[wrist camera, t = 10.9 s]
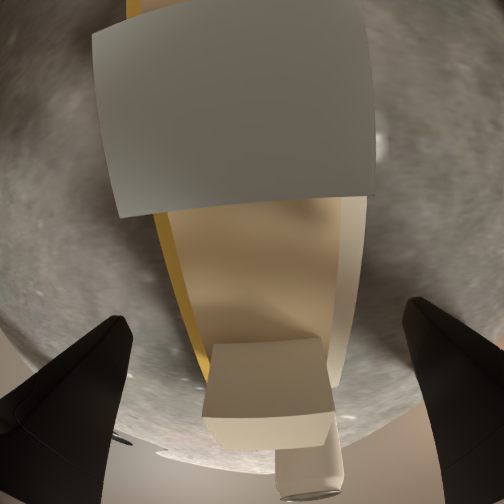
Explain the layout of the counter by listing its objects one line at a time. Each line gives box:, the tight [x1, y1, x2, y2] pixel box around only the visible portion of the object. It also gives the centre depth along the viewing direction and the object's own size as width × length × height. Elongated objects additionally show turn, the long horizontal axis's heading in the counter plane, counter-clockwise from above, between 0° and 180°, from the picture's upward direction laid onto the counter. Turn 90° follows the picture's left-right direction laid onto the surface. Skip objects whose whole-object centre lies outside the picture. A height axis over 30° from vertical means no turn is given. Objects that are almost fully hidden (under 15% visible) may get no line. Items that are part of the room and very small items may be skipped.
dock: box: [126, 0, 367, 388], centre depth 15 cm, size 11×30×3 cm, turn 6°
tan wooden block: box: [141, 0, 341, 364], centre depth 12 cm, size 22×6×4 cm, turn 6°
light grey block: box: [92, 0, 376, 218], centre depth 6 cm, size 5×4×4 cm
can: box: [275, 414, 344, 502], centre depth 21 cm, size 6×6×12 cm
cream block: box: [202, 337, 335, 450], centre depth 11 cm, size 5×4×4 cm
